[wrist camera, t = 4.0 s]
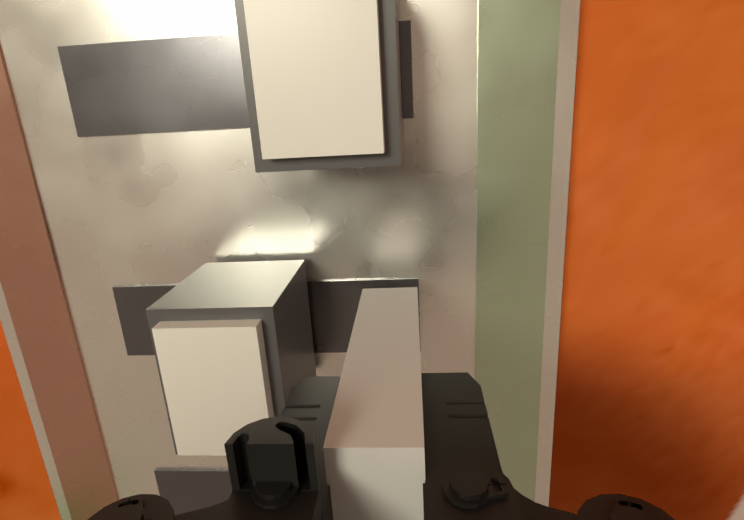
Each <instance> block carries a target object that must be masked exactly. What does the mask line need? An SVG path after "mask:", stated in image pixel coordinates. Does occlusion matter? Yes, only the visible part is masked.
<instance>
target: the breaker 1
mask: <svg viewBox="0 0 744 520" xmlns="http://www.w3.org/2000/svg"><path fill="white" fill-rule="evenodd" d="M146 315H147V320H148V324H149V329H150V334H151V339H152V344H153V348H154V353H155V358H156V363H157V367H158V372H159V377H160V382H161V386H162V391H163V396H164V401H165V405H166V410H167V415H168V420H169V424H170V429H171V434H172V439H173V443H174V448H175V453H176V454H178V455H209V456H226V452H225V446H224V444H225V443H226V442H227V440H228V439H229V438H230V437H231V435H232V434H233V433H235V432H236V431H238V430H239V429H241V428H242V427H244V426H245V425H247V424H249V423H252V422H255V421H258V420H261V419H264V418H272V417H280V416H281V413H282V411H283V409H284V408H285V404H286V401H287V399H288V396H289V394H290V392H291V389H293V388H294V387H295V386H296V385H297V384H298V383H299V382H300V381H301V380H303V379H304V378H305V377H308V376H316V366H315V357H314V347H313V337H312V327H311V318H310V308H309V298H308V288H307V278H306V269H305V260H280V261H249V262H217V263H205V264H203V265H202V266H201V267H200V268H198V269H197V270H196V271H194V272H193V273H192V274H191V275H189V276H188V277H187V278H185V279H184V280H183V281H182V282H180V283H179V284H178V285H176V286H175V287H174V288H173V289H171V290H170V291H169V292H167V293H166V294H165V295H164V296H162V297H161V298H160V299H158V300H157V301H156V302H155V303H153V304H152V305H151V306H149V307H148V308H147V309H146Z"/></svg>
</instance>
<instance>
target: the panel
mask: <svg viewBox="0 0 744 520" xmlns="http://www.w3.org/2000/svg"><path fill="white" fill-rule="evenodd" d="M579 13H580V0H398V16H399V43H400V70H401V97H402V125H403V155H402V161H401V166H384V167H364V168H343V169H322V170H301V171H281V172H260V173H256V172H255V164H254V156H253V148H252V140H251V132H250V124H249V116H248V109H247V101H246V93H245V85H244V77H243V69H242V61H241V53H240V45H239V37H238V29H237V21H236V14H235V6H234V0H0V320H1V324H2V327H3V330H4V333H5V337H6V340H7V343H8V346H9V350H10V353H11V356H12V359H13V363H14V366H15V369H16V372H17V376H18V379H19V382H20V385H21V389H22V392H23V395H24V398H25V402H26V405H27V408H28V411H29V415H30V418H31V421H32V424H33V428H34V431H35V434H36V437H37V441H38V444H39V447H40V450H41V454H42V457H43V460H44V464H45V467H46V470H47V473H48V477H49V480H50V483H51V486H52V490H53V493H54V496H55V499H56V503H57V506H58V509H59V512H60V516H61V519H62V520H87V519H89V518H90V517H91V516H93V515H94V514H95V513H97V512H98V511H99V510H101V509H102V508H103V507H105V506H107V505H109V504H111V503H114V502H116V501H118V500H120V499H122V498H126V497H130V496H134V495H138V494H156V495H159V496H161V497H163V498H165V499H167V500H169V502H170V504H171V506H172V508H173V510H174V513H175V515H178V514H182V513H186V512H190V511H194V510H198V509H202V508H206V507H210V506H213V505H216V504H219V503H222V502H223V501H225V500H227V499H229V497H230V495H231V492H232V486H231V480H230V474H229V469H228V463H227V457H226V456H209V455H178V454H176V453H175V448H174V443H173V439H172V434H171V429H170V424H169V420H168V415H167V410H166V405H165V401H164V396H163V391H162V386H161V382H160V377H159V372H158V367H157V363H156V358H155V353H154V348H153V344H152V339H151V334H150V329H149V324H148V320H147V315H146V309H147V308H148V307H149V306H151V305H152V304H153V303H155V302H156V301H157V300H158V299H160V298H161V297H162V296H164V295H165V294H166V293H167V292H169V291H170V290H171V289H173V288H174V287H175V286H176V285H178V284H179V283H180V282H182V281H183V280H184V279H185V278H187V277H188V276H189V275H191V274H192V273H193V272H194V271H196V270H197V269H198V268H200V267H201V266H202V265H203V264H205V263H217V262H249V261H280V260H305V269H306V278H307V288H308V298H309V308H310V318H311V327H312V337H313V347H314V357H315V366H316V376H341V374H342V370H343V366H344V362H345V358H346V354H347V350H348V346H349V342H350V338H351V334H352V330H353V326H354V322H355V318H356V314H357V310H358V305H359V301H360V297H361V293H362V289H371V288H404V287H417V290H418V313H419V336H420V358H421V373H459V372H468V373H469V374H470V375H471V376H472V377H473V378H474V379H475V380H476V381H477V382H478V383H479V384H480V385H481V389H482V393H483V397H484V403H485V405H486V409H487V413H488V418H489V421H490V425H491V429H492V433H493V437H494V441H495V445H496V449H497V453H498V457H499V461H500V465H501V469H502V471H503V473H504V475H505V476H506V477H508V478H509V480H510V482H511V484H512V486H513V487H514V489H516V490H517V491H518V492H519V493H521V494H522V495H523V496H525V497H527V498H529V499H530V500H532V501H534V502H536V503H539V504H542V505H544V506H547V507H549V492H550V476H551V460H552V444H553V428H554V412H555V396H556V380H557V365H558V349H559V333H560V317H561V301H562V285H563V269H564V253H565V237H566V221H567V205H568V189H569V173H570V157H571V141H572V125H573V109H574V93H575V77H576V61H577V45H578V29H579Z"/></svg>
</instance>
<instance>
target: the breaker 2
mask: <svg viewBox="0 0 744 520" xmlns="http://www.w3.org/2000/svg"><path fill="white" fill-rule="evenodd" d="M234 6H235V14H236V21H237V29H238V37H239V45H240V53H241V61H242V69H243V77H244V85H245V93H246V101H247V109H248V116H249V124H250V132H251V140H252V148H253V156H254V164H255V172H256V173H260V172H281V171H301V170H322V169H343V168H364V167H384V166H401V161H402V155H403V125H402V97H401V70H400V43H399V16H398V0H234Z"/></svg>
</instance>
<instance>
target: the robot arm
mask: <svg viewBox="0 0 744 520" xmlns="http://www.w3.org/2000/svg"><path fill="white" fill-rule="evenodd" d="M224 446H225V452H226V457H227V463H228V469H229V474H230V480H231V486H232V492H231V495H230V497H229V499H227V500H225V501H223V502H222V503H219V504H216V505H213V506H210V507H206V508H202V509H198V510H194V511H190V512H186V513H182V514H178V515H175V513H174V510H173V508H172V506H171V504H170V502H169V500H167V499H165V498H163V497H161V496H159V495H156V494H138V495H134V496H130V497H126V498H122V499H120V500H118V501H116V502H114V503H111V504H109V505H107V506H105V507H103V508H102V509H101V510H99V511H98V512H97V513H95V514H94V515H93V516H91V517H90V518H89V519H87V520H674V519H673V518H672V517H670V516H669V515H668V514H667V513H665V512H664V511H663V510H662V509H660V508H658V507H656V506H654V505H652V504H650V503H648V502H646V501H644V500H642V499H638V498H634V497H630V496H626V495H621V494H606V495H599V496H596V497H594V498H591V499H589V500H586V502H585V503H584V504H583V505H582V507H581V508H580V509H579V510H578V515H577V514H573V513H569V512H565V511H562V510H558V509H554V508H550V507H547V506H544V505H542V504H539V503H536V502H534V501H532V500H530V499H529V498H527V497H525V496H523V495H522V494H521V493H519V492H518V491H517V490H516V489H514V487H513V486H512V484H511V482H510V480H509V478H508V477H506V476H505V475H504V473H503V471H502V469H501V465H500V461H499V457H498V453H497V449H496V445H495V441H494V437H493V433H492V429H491V425H490V421H489V418H488V413H487V409H486V405H485V403H484V397H483V393H482V389H481V385H480V384H479V383H478V382H477V381H476V380H475V379H474V378H473V377H472V376H471V375H470V374H469V373H468V372H459V373H421V358H420V336H419V313H418V290H417V287H404V288H371V289H362V293H361V297H360V301H359V305H358V310H357V314H356V318H355V322H354V326H353V330H352V334H351V338H350V342H349V346H348V350H347V354H346V358H345V362H344V366H343V370H342V374H341V376H308V377H305V378H304V379H303V380H301V381H300V382H299V383H298V384H297V385H296V386H295V387H294V388H293V389H291V392H290V394H289V396H288V399H287V401H286V404H285V408H284V409H283V411H282V413H281V416H280V417H272V418H264V419H261V420H258V421H255V422H252V423H249V424H247V425H245V426H244V427H242V428H241V429H239V430H238V431H236V432H235V433H233V434H232V435H231V437H230V438H229V439H228V440H227V442H226V443H225V444H224Z"/></svg>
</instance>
